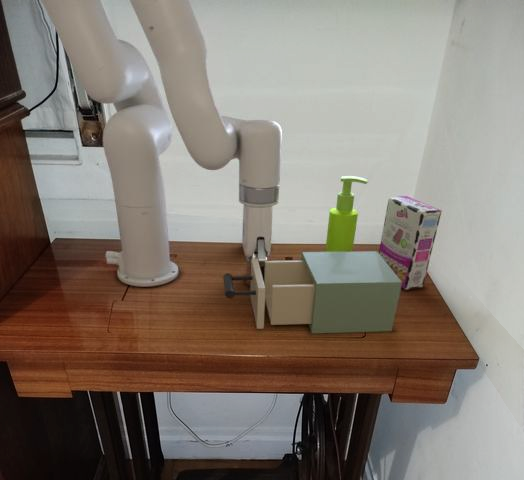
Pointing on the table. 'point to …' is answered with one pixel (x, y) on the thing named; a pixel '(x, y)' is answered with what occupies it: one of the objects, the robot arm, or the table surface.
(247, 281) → the cylinder
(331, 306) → the cabinet
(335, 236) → the soap dispenser
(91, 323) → the table surface
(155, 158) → the robot arm
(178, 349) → the table surface
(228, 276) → the drawer
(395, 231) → the candy bar box
